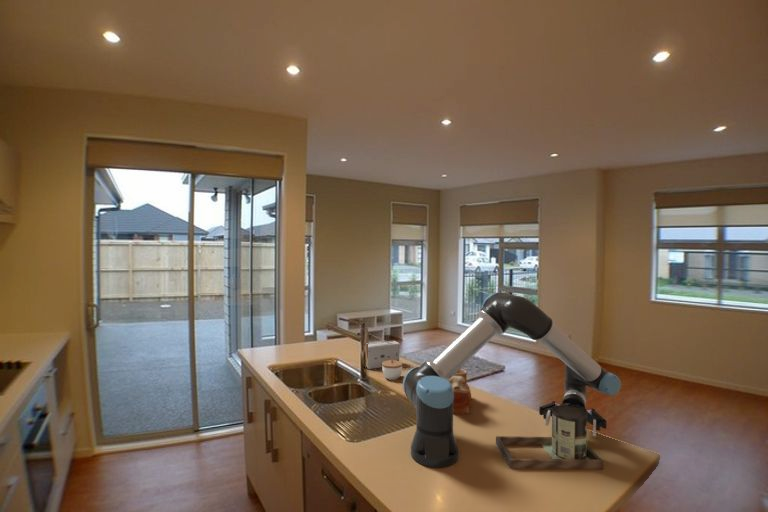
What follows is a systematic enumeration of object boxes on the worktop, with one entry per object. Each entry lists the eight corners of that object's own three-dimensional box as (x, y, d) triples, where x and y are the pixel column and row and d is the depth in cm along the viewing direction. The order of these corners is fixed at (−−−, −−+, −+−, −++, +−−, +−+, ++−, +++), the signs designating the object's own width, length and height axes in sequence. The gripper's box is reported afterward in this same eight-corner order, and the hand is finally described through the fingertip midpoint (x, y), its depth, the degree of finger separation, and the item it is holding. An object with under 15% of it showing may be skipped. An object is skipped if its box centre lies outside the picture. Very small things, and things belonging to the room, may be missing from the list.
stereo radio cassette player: (394, 362, 221) (394, 328, 220) (400, 366, 213) (401, 331, 213) (361, 366, 212) (362, 331, 211) (367, 370, 204) (367, 334, 204)
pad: (559, 466, 113) (559, 465, 113) (541, 445, 126) (541, 444, 126) (597, 467, 113) (597, 466, 113) (576, 446, 126) (576, 445, 126)
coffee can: (580, 448, 123) (581, 406, 123) (591, 465, 113) (592, 419, 113) (547, 445, 125) (548, 403, 125) (555, 461, 115) (556, 416, 115)
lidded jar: (383, 374, 198) (383, 356, 198) (403, 375, 197) (403, 357, 197) (380, 380, 188) (380, 362, 188) (401, 382, 186) (401, 363, 186)
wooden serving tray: (510, 468, 112) (510, 460, 112) (495, 443, 127) (495, 436, 127) (603, 469, 112) (603, 461, 112) (577, 444, 127) (577, 437, 127)
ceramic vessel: (437, 417, 147) (438, 379, 147) (439, 393, 172) (439, 360, 172) (473, 420, 144) (474, 382, 144) (469, 395, 170) (469, 362, 170)
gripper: (613, 421, 131) (615, 448, 113) (537, 406, 143) (528, 428, 125) (613, 400, 131) (616, 424, 112) (537, 387, 143) (528, 406, 125)
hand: (569, 426), depth 119 cm, fingers open, 13 cm apart
